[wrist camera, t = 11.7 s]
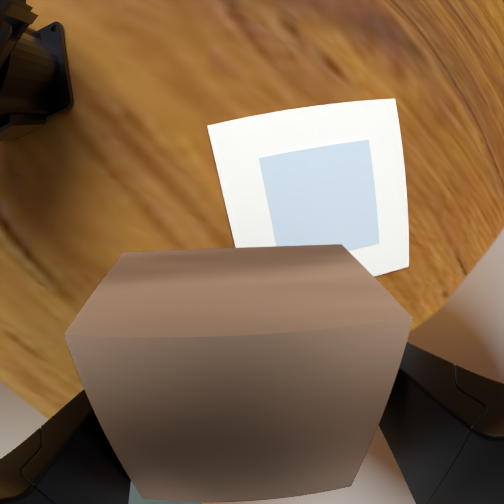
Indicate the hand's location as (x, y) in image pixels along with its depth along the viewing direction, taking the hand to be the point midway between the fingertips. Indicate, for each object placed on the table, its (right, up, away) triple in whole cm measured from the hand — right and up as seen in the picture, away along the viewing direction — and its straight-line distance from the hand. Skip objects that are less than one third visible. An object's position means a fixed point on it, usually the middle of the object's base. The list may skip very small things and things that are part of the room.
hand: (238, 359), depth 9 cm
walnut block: (0, 0, +1) cm, 1 cm away
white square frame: (+5, +6, +11) cm, 14 cm away
